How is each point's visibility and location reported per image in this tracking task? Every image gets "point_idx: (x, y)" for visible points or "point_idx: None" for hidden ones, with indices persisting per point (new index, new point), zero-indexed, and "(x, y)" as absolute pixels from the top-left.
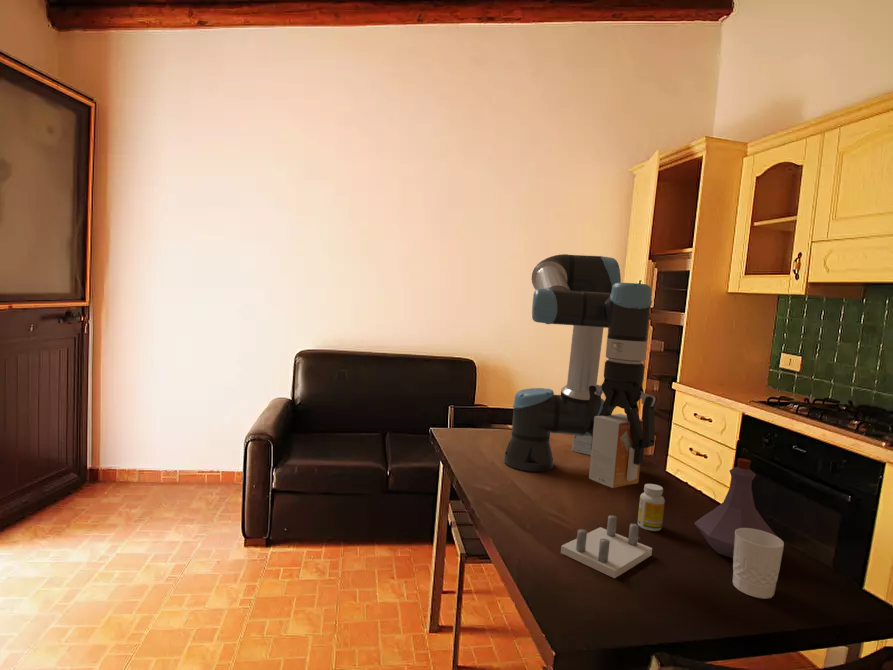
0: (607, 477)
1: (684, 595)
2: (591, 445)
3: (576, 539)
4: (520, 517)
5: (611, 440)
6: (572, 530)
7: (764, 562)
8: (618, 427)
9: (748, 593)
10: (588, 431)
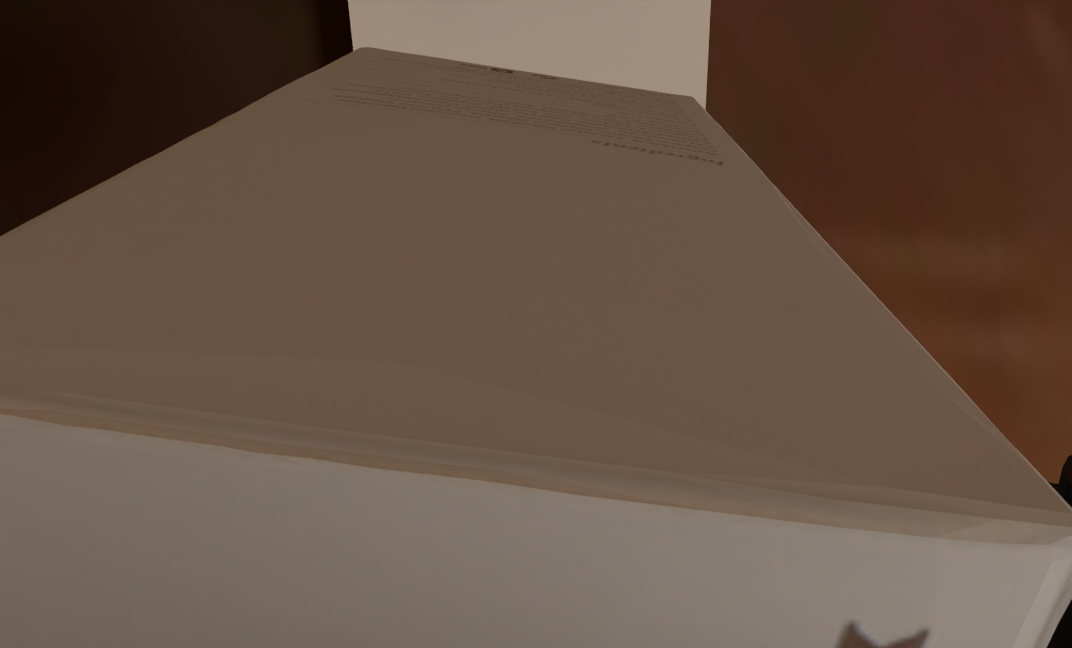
0: (433, 68)
1: (72, 82)
2: None
3: (699, 66)
4: None
5: (300, 182)
6: (814, 227)
7: None
8: None
9: None
10: (1062, 478)
